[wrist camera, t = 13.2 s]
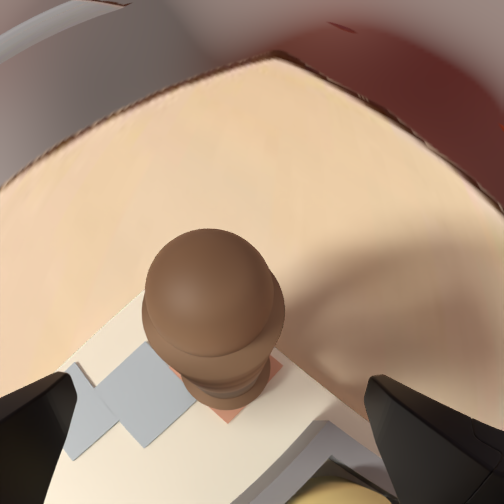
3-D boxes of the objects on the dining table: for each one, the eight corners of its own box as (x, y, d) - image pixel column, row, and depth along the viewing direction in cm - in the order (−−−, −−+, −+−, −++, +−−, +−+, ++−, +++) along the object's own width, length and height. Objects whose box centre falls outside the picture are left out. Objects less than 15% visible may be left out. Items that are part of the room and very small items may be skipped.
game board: (422, 465, 15) (461, 469, 11) (221, 638, 6) (219, 668, 2) (180, 267, 22) (169, 232, 18) (-1, 438, 13) (-39, 433, 9)
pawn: (283, 385, 17) (380, 311, 5) (207, 424, 15) (135, 440, 4) (243, 315, 19) (254, 146, 8) (169, 349, 17) (66, 220, 6)
